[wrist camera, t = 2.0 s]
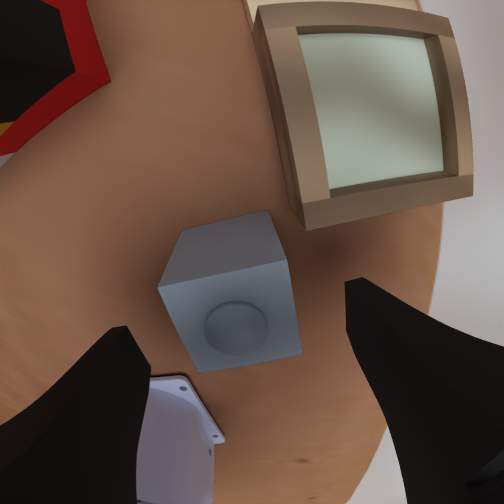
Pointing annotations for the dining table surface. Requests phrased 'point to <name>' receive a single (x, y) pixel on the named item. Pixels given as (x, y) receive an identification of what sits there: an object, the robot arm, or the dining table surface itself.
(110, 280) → the dining table surface
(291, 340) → the stud block
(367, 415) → the dining table surface
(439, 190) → the socket block
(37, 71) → the puzzle toy
